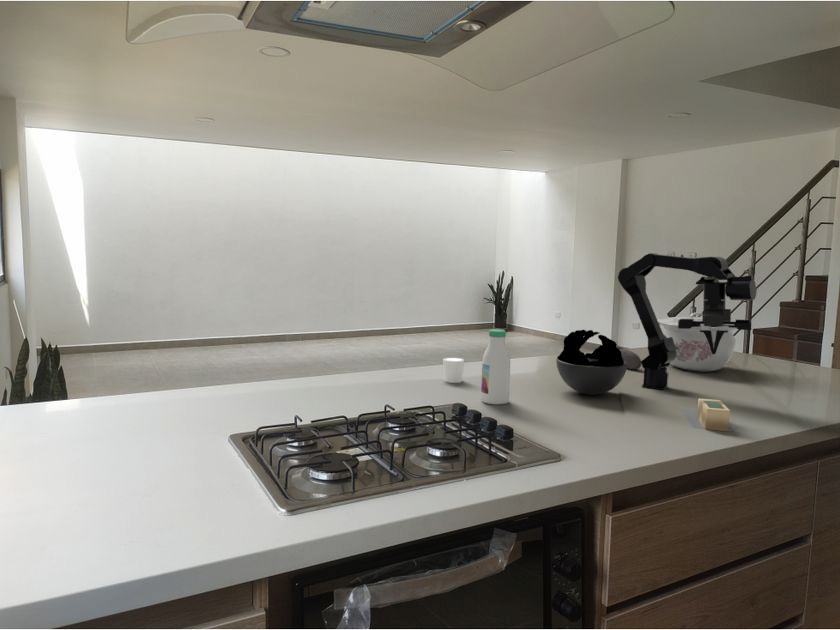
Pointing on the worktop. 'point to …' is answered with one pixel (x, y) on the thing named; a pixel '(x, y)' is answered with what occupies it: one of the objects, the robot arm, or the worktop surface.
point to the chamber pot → (697, 345)
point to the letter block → (713, 414)
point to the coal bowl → (590, 364)
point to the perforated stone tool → (630, 359)
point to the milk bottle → (496, 370)
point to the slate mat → (696, 423)
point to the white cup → (453, 369)
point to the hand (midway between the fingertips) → (713, 354)
